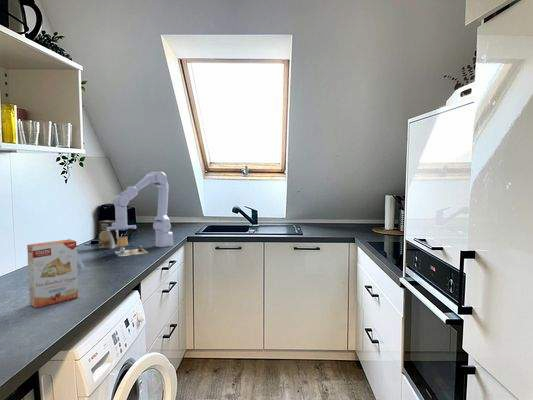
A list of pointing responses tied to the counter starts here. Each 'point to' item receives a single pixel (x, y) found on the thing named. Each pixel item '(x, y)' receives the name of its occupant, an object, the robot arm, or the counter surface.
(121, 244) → the bronze ring
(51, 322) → the counter surface
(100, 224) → the coffee box
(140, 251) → the stand rod
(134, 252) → the maple board
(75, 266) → the cracker box
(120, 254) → the hub pad
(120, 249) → the steel hub
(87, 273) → the counter surface
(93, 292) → the counter surface
